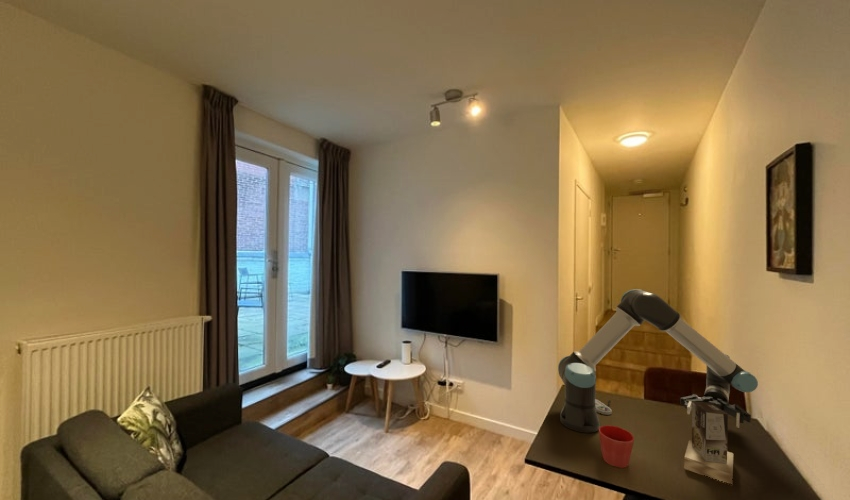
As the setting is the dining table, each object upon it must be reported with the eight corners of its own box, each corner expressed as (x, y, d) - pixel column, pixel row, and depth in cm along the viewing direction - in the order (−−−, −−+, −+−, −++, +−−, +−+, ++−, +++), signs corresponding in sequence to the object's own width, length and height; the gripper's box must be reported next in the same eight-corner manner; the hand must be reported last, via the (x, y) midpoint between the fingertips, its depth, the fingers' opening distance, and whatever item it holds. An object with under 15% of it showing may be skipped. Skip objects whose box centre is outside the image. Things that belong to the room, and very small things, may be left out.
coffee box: (728, 464, 113) (729, 414, 113) (705, 461, 114) (705, 412, 114) (712, 448, 122) (712, 402, 121) (690, 446, 123) (691, 400, 123)
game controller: (581, 401, 168) (581, 397, 168) (605, 399, 170) (605, 396, 170) (601, 416, 154) (601, 412, 154) (628, 414, 155) (628, 410, 155)
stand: (684, 468, 117) (684, 456, 117) (689, 450, 127) (689, 439, 127) (732, 485, 109) (732, 472, 108) (733, 465, 119) (733, 453, 119)
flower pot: (631, 456, 123) (632, 428, 123) (635, 474, 113) (635, 444, 113) (598, 448, 128) (598, 422, 128) (598, 465, 118) (599, 437, 118)
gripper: (758, 418, 132) (760, 440, 116) (677, 398, 149) (669, 415, 133) (759, 398, 132) (760, 418, 116) (678, 380, 149) (669, 395, 133)
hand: (712, 416), depth 124 cm, fingers open, 13 cm apart
